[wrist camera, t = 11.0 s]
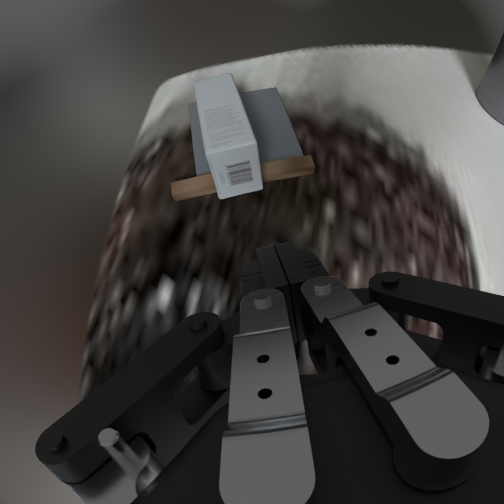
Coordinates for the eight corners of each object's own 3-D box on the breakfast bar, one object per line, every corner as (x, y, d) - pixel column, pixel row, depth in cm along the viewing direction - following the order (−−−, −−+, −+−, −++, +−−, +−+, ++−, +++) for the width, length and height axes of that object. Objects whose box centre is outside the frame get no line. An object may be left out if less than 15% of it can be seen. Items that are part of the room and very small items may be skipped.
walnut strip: (309, 162, 32) (310, 154, 31) (314, 173, 31) (315, 166, 30) (174, 189, 32) (171, 182, 31) (175, 201, 31) (172, 195, 30)
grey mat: (276, 89, 37) (275, 87, 36) (303, 159, 32) (303, 156, 32) (189, 106, 37) (188, 103, 36) (197, 179, 32) (196, 177, 32)
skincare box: (218, 201, 29) (204, 124, 35) (264, 190, 29) (240, 115, 35) (202, 153, 24) (192, 81, 30) (257, 140, 24) (232, 71, 30)
